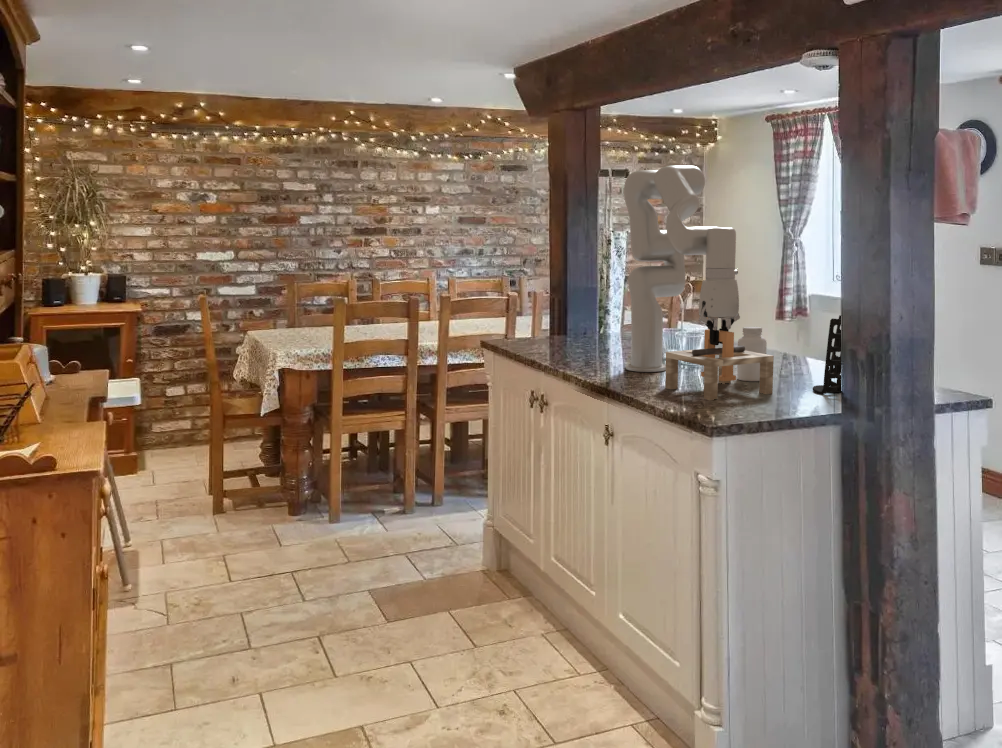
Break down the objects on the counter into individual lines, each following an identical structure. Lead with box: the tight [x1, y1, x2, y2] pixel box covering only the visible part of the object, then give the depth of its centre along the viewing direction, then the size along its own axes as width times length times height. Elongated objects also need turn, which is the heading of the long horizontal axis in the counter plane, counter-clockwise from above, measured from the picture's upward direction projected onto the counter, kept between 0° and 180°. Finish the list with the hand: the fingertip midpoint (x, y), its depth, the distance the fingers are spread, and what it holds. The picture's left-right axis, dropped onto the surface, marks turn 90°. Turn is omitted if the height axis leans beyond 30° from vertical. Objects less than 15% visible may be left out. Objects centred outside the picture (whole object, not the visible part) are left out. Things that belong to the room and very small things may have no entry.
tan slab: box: [700, 328, 737, 382], centre depth 248 cm, size 4×10×13 cm, turn 24°
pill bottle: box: [736, 326, 767, 382], centre depth 265 cm, size 8×8×15 cm
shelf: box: [664, 345, 774, 401], centre depth 249 cm, size 20×20×12 cm
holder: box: [812, 314, 842, 396], centre depth 244 cm, size 11×8×20 cm
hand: (718, 343), depth 248 cm, fingers closed on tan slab, 2 cm apart
